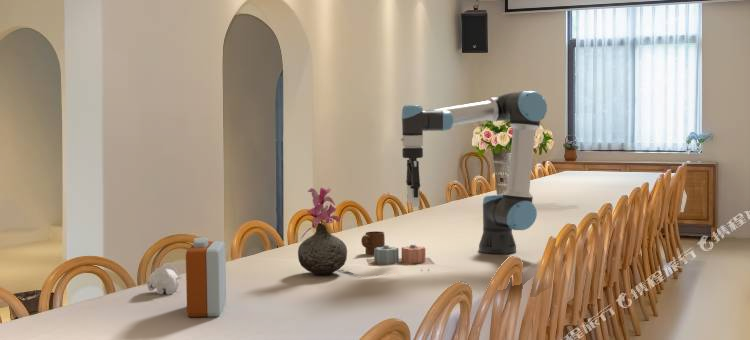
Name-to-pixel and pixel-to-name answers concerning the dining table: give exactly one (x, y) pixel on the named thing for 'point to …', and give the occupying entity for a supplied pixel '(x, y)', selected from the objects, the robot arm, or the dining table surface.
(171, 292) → the elephant figurine
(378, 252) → the gear
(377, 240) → the mug
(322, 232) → the vase
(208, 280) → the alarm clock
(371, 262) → the gear board
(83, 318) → the dining table surface
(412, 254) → the gear
